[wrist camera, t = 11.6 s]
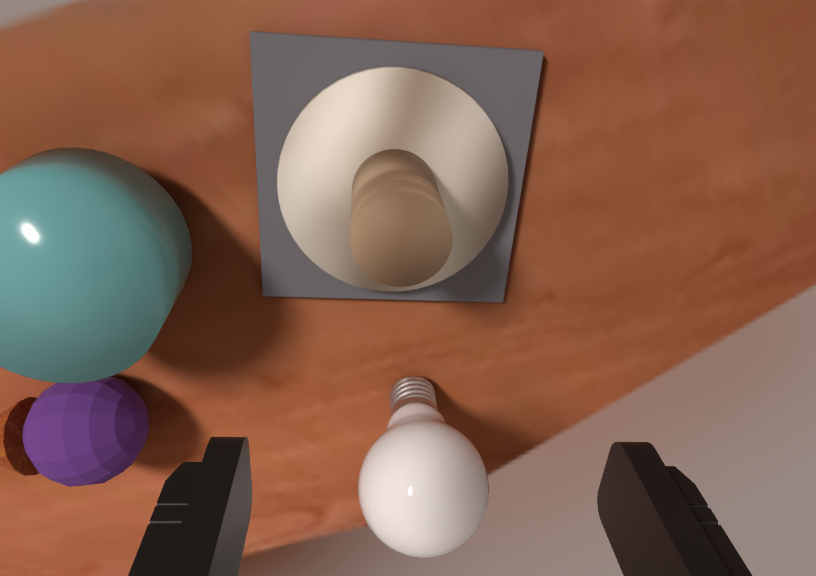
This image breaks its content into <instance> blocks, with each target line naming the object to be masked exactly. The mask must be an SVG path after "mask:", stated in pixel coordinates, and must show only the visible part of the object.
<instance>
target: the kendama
mask: <svg viewBox="0 0 816 576" xmlns="http://www.w3.org/2000/svg"><path fill="white" fill-rule="evenodd" d="M148 431H149V417H148V412H147V408H146V405H145V403H144V401H143V399H142V398H141V397H140V396H139V395H138V394H137V393H136V392H135V391H134V389H133V388H131V387H130V386H129V385H128V384H127V383H126V382H125V381H124V380H121V379H118V378H115V377H111V376H110V377H107V378H104V379H100V380H96V381H90V382H83V383H56V384H54V385H53V386H51V387H50V388H48V389H46V390H45V391H43V392H42V394H41V395H40V396H39V397H38V398H33V397H28V398H26V399H24V400H22V401H19V402H18V403H16V404H15V405H13V406H12V407H10V408H9V409H7V410H6V411H4V412H3V413H2V414H0V465H1V466H3V467H6V468H8V469H11V470H13V471H15V472H18V473H20V474H23V475H37V474H38V473H40V474H41V475H43V476H45V477H47V478H48V479H50V480H52V481H55V482H58V483H60V484H63V485H66V486H69V487H71V486H82V485H91V484H99V483H105V482H106V481H108V480H110V479H111V478H113V477H115V476H117V475H118V474H120V473H122V472H123V471H124V470H126V469H127V468H128V467H129V466H131V465H132V463H133V462H134V460H135V459H136V457H137V456H138V455H139V453H140V452H141V450H142V448H143V446H144V444H145V443H146V440H147V436H148Z"/></svg>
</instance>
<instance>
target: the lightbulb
mask: <svg viewBox="0 0 816 576" xmlns="http://www.w3.org/2000/svg"><path fill="white" fill-rule="evenodd" d="M390 407H391V418H390V420H389V422H388V425H387V429H386V432H385V433H383V434H382V435H381V436H380V437H379V438H378V439H377V440H376V441H375V443H374V444H373V445H372V447H371V448H370V449H369V451H368V453H367V455H366V457H365V459H364V461H363V464H362V467H361V470H360V474H359V481H358V495H359V502H360V506H361V510H362V513H363V515H364V518H365V520H366V522H367V524H368V525H369V527H370V528H371V530H372V531H373V533H374V534H375V535H376V536H377V537H378V538H379V539H380V540H381V541H382V542H383V543H384V544H386V545H387V546H388V547H390V548H392V549H393V550H395V551H397V552H399V553H402V554H405V555H409V556H413V557H435V556H440V555H443V554H446V553H448V552H451V551H453V550H454V549H456V548H458V547H459V546H461V545H462V544H463V543H464V542H466V541H467V540H468V539H469V538H470V537H471V535H472V534H473V533H474V532H475V530H476V529H477V528H478V526H479V524H480V522H481V520H482V518H483V516H484V513H485V510H486V507H487V502H488V492H489V487H488V477H487V472H486V468H485V465H484V463H483V460H482V458H481V456H480V454H479V452H478V451H477V449H476V448H475V446H474V445H473V444H472V443H471V442H470V440H469V439H468V438H467V437H465V436H464V435H463V434H462V433H461V432H459V431H458V430H456V429H455V428H453V427H451V426H450V425H448V424H446V422H445V420H444V418H443V416H442V415H441V414H440V413H439V412H438V408H437V402H436V397H435V391H434V388H433V386H432V384H431V383H430V382H429V381H427V380H426V379H424V378H421V377H415V376H412V377H406V378H403V379H401V380H399V381H398V382H396V383H395V384H394V385H393V387H392V389H391V391H390Z"/></svg>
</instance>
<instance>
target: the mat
mask: <svg viewBox="0 0 816 576" xmlns="http://www.w3.org/2000/svg"><path fill="white" fill-rule="evenodd" d="M250 49H251V69H252V88H253V108H254V128H255V148H256V168H257V188H258V208H259V228H260V248H261V268H262V288H263V296H273V297H311V298H349V299H387V300H425V301H463V302H500V303H503V298H504V292H505V286H506V280H507V274H508V268H509V262H510V256H511V250H512V243H513V237H514V231H515V225H516V219H517V213H518V207H519V201H520V195H521V188H522V182H523V176H524V170H525V164H526V158H527V152H528V146H529V140H530V133H531V127H532V121H533V115H534V109H535V103H536V97H537V91H538V85H539V78H540V72H541V66H542V60H543V54H544V52H543V51H541V50H528V49H513V48H498V47H483V46H468V45H453V44H437V43H422V42H407V41H392V40H377V39H362V38H346V37H331V36H316V35H301V34H286V33H271V32H255V31H252V32H250ZM382 66H404V67H411V68H417V69H421V70H425V71H428V72H432V73H434V74H436V75H439V76H441V77H443V78H446V79H447V80H449V81H451V82H452V83H454V84H456V85H457V86H459V87H460V88H461V89H463V90H464V91H465V92H466V93H467V94H469V95H470V96H471V97H472V98H473V99H474V100H475V101H476V102H477V104H478V105H479V106H480V107H481V108H482V109H483V110H484V112H485V113H486V114H487V116H488V117H489V119H490V120H491V122H492V123H493V125H494V127H495V129H496V131H497V133H498V135H499V137H500V139H501V142H502V145H503V148H504V151H505V155H506V160H507V165H508V192H507V199H506V203H505V208H504V211H503V214H502V217H501V219H500V222H499V224H498V226H497V228H496V230H495V232H494V234H493V236H492V237H491V239H490V240H489V241H488V243H487V244H486V246H485V247H484V248H483V249H482V251H481V252H480V253H479V254H478V255H477V256H476V257H475V258H474V259H473V260H472V261H471V262H470V263H468V264H467V265H466V266H465V267H464V268H462V269H461V270H459V271H458V272H456V273H455V274H453V275H451V276H450V277H448V278H446V279H444V280H442V281H440V282H437V283H435V284H432V285H429V286H426V287H422V288H418V289H414V290H407V291H393V292H386V291H374V290H369V289H365V288H360V287H357V286H354V285H351V284H348V283H346V282H343V281H341V280H339V279H337V278H335V277H333V276H332V275H330V274H329V273H327V272H325V271H324V270H322V269H321V268H320V267H319V266H317V265H316V264H315V263H314V262H312V261H311V260H310V258H309V257H308V256H307V255H306V254H305V253H304V252H303V251H302V250H301V248H300V247H299V246H298V244H297V243H296V242H295V240H294V239H293V237H292V235H291V233H290V232H289V230H288V228H287V226H286V223H285V220H284V218H283V215H282V212H281V208H280V204H279V199H278V190H277V173H278V165H279V160H280V155H281V152H282V149H283V146H284V143H285V140H286V137H287V135H288V133H289V131H290V129H291V127H292V125H293V123H294V121H295V120H296V118H297V117H298V115H299V114H300V112H301V111H302V109H303V108H304V107H305V106H306V105H307V104H308V103H309V102H310V101H311V99H312V98H313V97H315V96H316V95H317V94H318V93H319V92H321V91H322V90H323V89H324V88H325V87H327V86H329V85H330V84H332V83H333V82H335V81H337V80H338V79H340V78H343V77H345V76H347V75H349V74H352V73H354V72H358V71H361V70H365V69H368V68H375V67H382Z"/></svg>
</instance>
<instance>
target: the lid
mask: <svg viewBox="0 0 816 576" xmlns="http://www.w3.org/2000/svg"><path fill="white" fill-rule="evenodd" d="M277 190H278V199H279V204H280V208H281V212H282V215H283V218H284V220H285V223H286V226H287V228H288V230H289V232H290V233H291V235H292V237H293V239H294V240H295V242H296V243H297V244H298V246H299V247H300V248H301V250H302V251H303V252H304V253H305V254H306V255H307V256H308V257H309V258H310V260H311V261H312V262H314V263H315V264H316V265H317V266H319V267H320V268H321V269H322V270H324V271H325V272H327V273H329V274H330V275H332V276H333V277H335V278H337V279H339V280H341V281H343V282H346V283H348V284H351V285H354V286H357V287H360V288H365V289H369V290H374V291H386V292H393V291H407V290H414V289H418V288H422V287H426V286H429V285H432V284H435V283H437V282H440V281H442V280H444V279H446V278H448V277H450V276H451V275H453V274H455V273H456V272H458V271H459V270H461V269H462V268H464V267H465V266H466V265H467V264H468V263H470V262H471V261H472V260H473V259H474V258H475V257H476V256H477V255H478V254H479V253H480V252H481V251H482V249H483V248H484V247H485V246H486V244H487V243H488V241H489V240H490V239H491V237H492V236H493V234H494V232H495V230H496V228H497V226H498V224H499V222H500V219H501V217H502V214H503V211H504V208H505V203H506V199H507V192H508V165H507V160H506V155H505V151H504V148H503V145H502V142H501V139H500V137H499V135H498V133H497V131H496V129H495V127H494V125H493V123H492V122H491V120H490V119H489V117H488V116H487V114H486V113H485V112H484V110H483V109H482V108H481V107H480V106H479V105H478V104H477V102H476V101H475V100H474V99H473V98H472V97H471V96H470V95H469V94H467V93H466V92H465V91H464V90H463V89H461V88H460V87H459V86H457V85H456V84H454V83H452V82H451V81H449V80H447V79H446V78H443V77H441V76H439V75H436V74H434V73H432V72H428V71H425V70H421V69H417V68H411V67H404V66H382V67H375V68H368V69H365V70H361V71H358V72H354V73H352V74H349V75H347V76H345V77H343V78H340V79H338V80H337V81H335V82H333V83H332V84H330V85H329V86H327V87H325V88H324V89H323V90H322V91H321V92H319V93H318V94H317V95H316V96H315V97H313V98H312V99H311V101H310V102H309V103H308V104H307V105H306V106H305V107H304V108H303V109H302V111H301V112H300V114H299V115H298V117H297V118H296V120H295V121H294V123H293V125H292V127H291V129H290V131H289V133H288V135H287V137H286V140H285V143H284V146H283V149H282V152H281V155H280V160H279V165H278V173H277Z"/></svg>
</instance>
